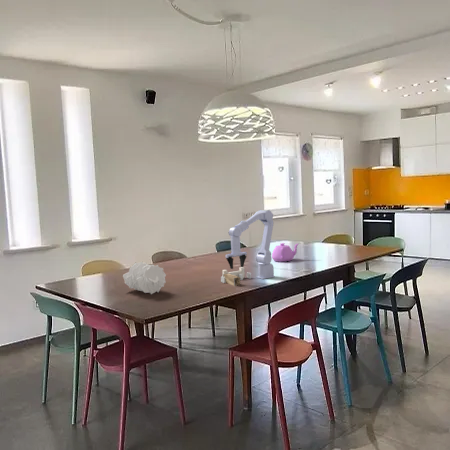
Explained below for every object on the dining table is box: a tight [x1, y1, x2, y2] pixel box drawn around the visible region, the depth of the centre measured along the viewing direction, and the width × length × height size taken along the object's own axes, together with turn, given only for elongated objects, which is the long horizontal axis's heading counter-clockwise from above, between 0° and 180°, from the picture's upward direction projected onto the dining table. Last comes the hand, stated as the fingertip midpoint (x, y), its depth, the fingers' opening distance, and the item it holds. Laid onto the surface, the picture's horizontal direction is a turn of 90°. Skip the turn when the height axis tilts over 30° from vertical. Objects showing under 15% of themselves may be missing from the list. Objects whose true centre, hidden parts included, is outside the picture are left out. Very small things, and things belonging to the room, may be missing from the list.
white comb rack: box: [220, 266, 252, 284], centre depth 303 cm, size 21×6×7 cm, turn 120°
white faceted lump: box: [122, 261, 167, 295], centre depth 281 cm, size 18×18×25 cm
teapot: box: [271, 242, 300, 263], centre depth 367 cm, size 22×22×14 cm
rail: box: [222, 274, 241, 287], centre depth 293 cm, size 4×15×5 cm, turn 28°
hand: (236, 267), depth 294 cm, fingers open, 7 cm apart
